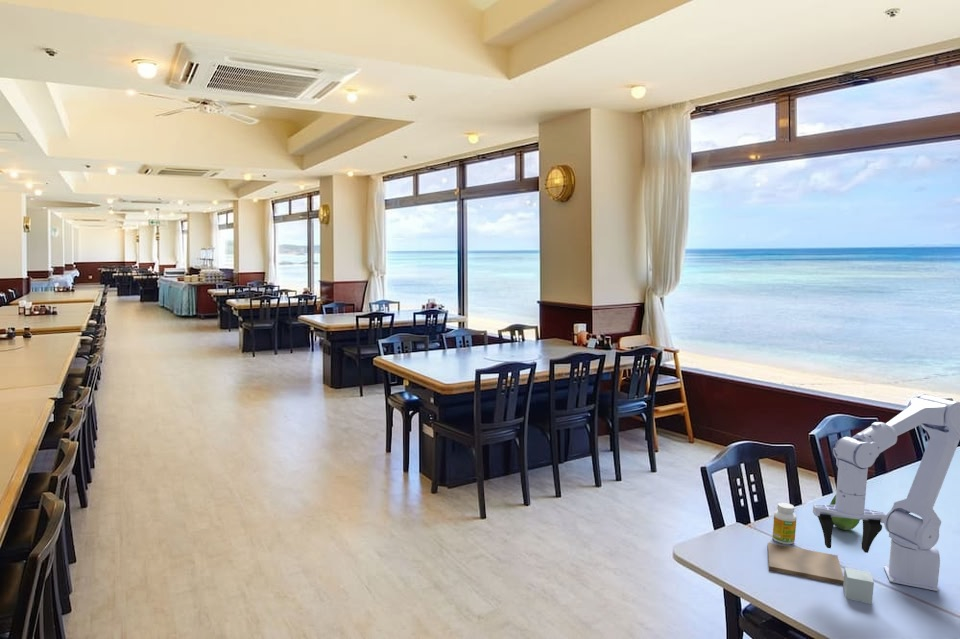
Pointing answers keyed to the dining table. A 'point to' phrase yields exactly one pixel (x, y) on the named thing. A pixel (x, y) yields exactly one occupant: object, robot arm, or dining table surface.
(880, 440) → the robot arm
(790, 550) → the brown wooden board
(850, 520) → the avocado
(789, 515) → the supplement bottle
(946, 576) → the dining table surface
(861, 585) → the pale blue-gray cube
